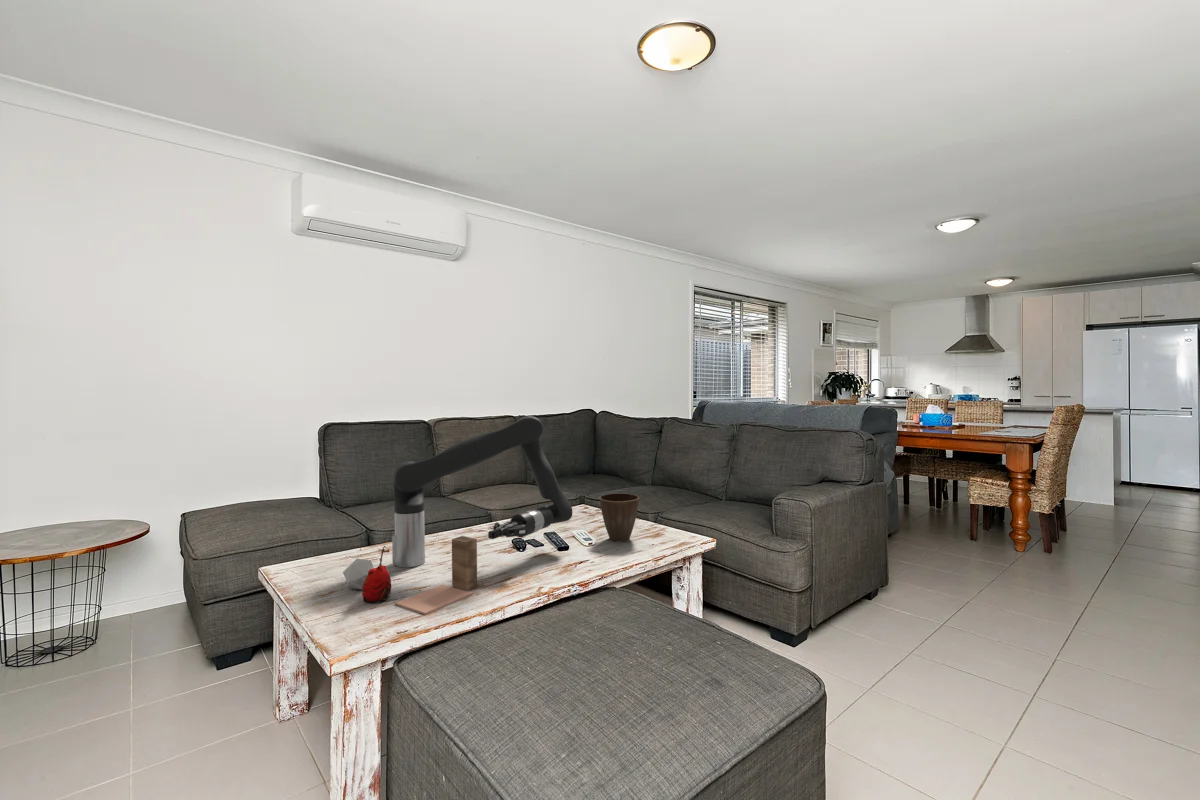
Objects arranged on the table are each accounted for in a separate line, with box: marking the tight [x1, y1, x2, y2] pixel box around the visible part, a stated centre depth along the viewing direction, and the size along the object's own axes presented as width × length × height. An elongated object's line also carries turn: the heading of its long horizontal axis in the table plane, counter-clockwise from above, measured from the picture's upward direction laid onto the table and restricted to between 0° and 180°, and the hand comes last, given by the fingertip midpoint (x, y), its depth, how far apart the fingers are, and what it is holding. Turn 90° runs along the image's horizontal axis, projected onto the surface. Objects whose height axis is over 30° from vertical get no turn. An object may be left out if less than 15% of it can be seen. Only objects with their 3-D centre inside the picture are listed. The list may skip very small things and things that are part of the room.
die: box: [342, 558, 375, 591], centre depth 159 cm, size 8×9×10 cm
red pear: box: [361, 545, 392, 604], centre depth 150 cm, size 8×7×15 cm
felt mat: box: [394, 584, 473, 616], centre depth 150 cm, size 16×12×1 cm
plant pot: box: [599, 492, 640, 542], centre depth 208 cm, size 15×15×16 cm
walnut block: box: [451, 535, 478, 592], centre depth 159 cm, size 4×6×14 cm, turn 57°
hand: (490, 535), depth 167 cm, fingers closed
